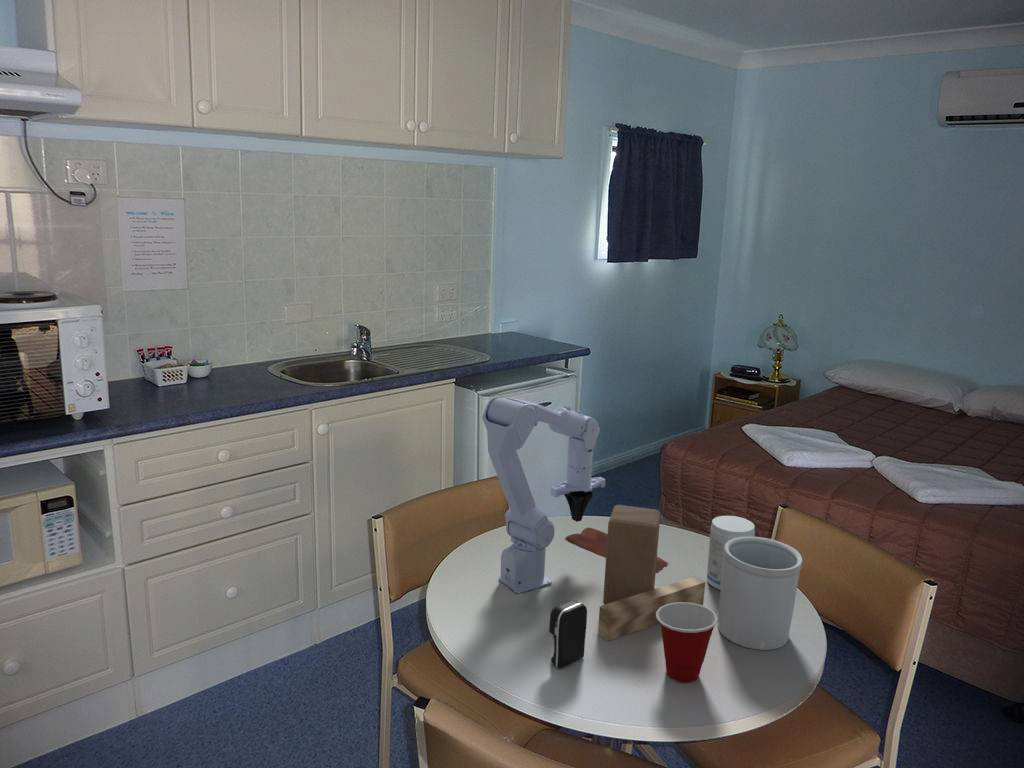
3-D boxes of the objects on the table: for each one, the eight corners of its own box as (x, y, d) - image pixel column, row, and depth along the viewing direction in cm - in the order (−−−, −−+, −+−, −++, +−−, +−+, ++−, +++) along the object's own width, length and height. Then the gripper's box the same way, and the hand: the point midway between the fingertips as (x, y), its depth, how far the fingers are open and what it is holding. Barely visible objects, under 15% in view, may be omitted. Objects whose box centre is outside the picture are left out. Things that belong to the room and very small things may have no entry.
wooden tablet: (562, 541, 199) (562, 535, 198) (587, 530, 206) (588, 524, 205) (649, 579, 181) (650, 572, 180) (674, 565, 187) (674, 559, 187)
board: (607, 641, 154) (609, 613, 152) (597, 633, 156) (599, 606, 155) (702, 607, 167) (705, 581, 166) (692, 601, 170) (695, 576, 168)
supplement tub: (750, 578, 181) (757, 519, 178) (748, 597, 172) (755, 535, 169) (707, 570, 184) (713, 512, 181) (703, 589, 176) (709, 527, 172)
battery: (571, 648, 151) (574, 594, 148) (585, 657, 148) (588, 602, 145) (544, 661, 146) (547, 605, 143) (558, 671, 143) (561, 614, 141)
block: (650, 616, 163) (657, 526, 159) (602, 608, 166) (607, 520, 161) (654, 593, 173) (661, 508, 168) (608, 586, 175) (614, 502, 170)
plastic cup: (669, 649, 151) (674, 592, 149) (721, 672, 145) (728, 613, 142) (640, 674, 143) (644, 614, 141) (693, 699, 137) (699, 637, 134)
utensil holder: (799, 626, 161) (809, 547, 157) (783, 661, 149) (794, 576, 145) (727, 606, 169) (735, 530, 164) (706, 637, 156) (714, 556, 152)
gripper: (564, 475, 176) (561, 532, 179) (614, 465, 183) (611, 519, 186) (546, 466, 181) (543, 521, 185) (596, 456, 189) (592, 509, 192)
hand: (576, 519), depth 186 cm, fingers closed
